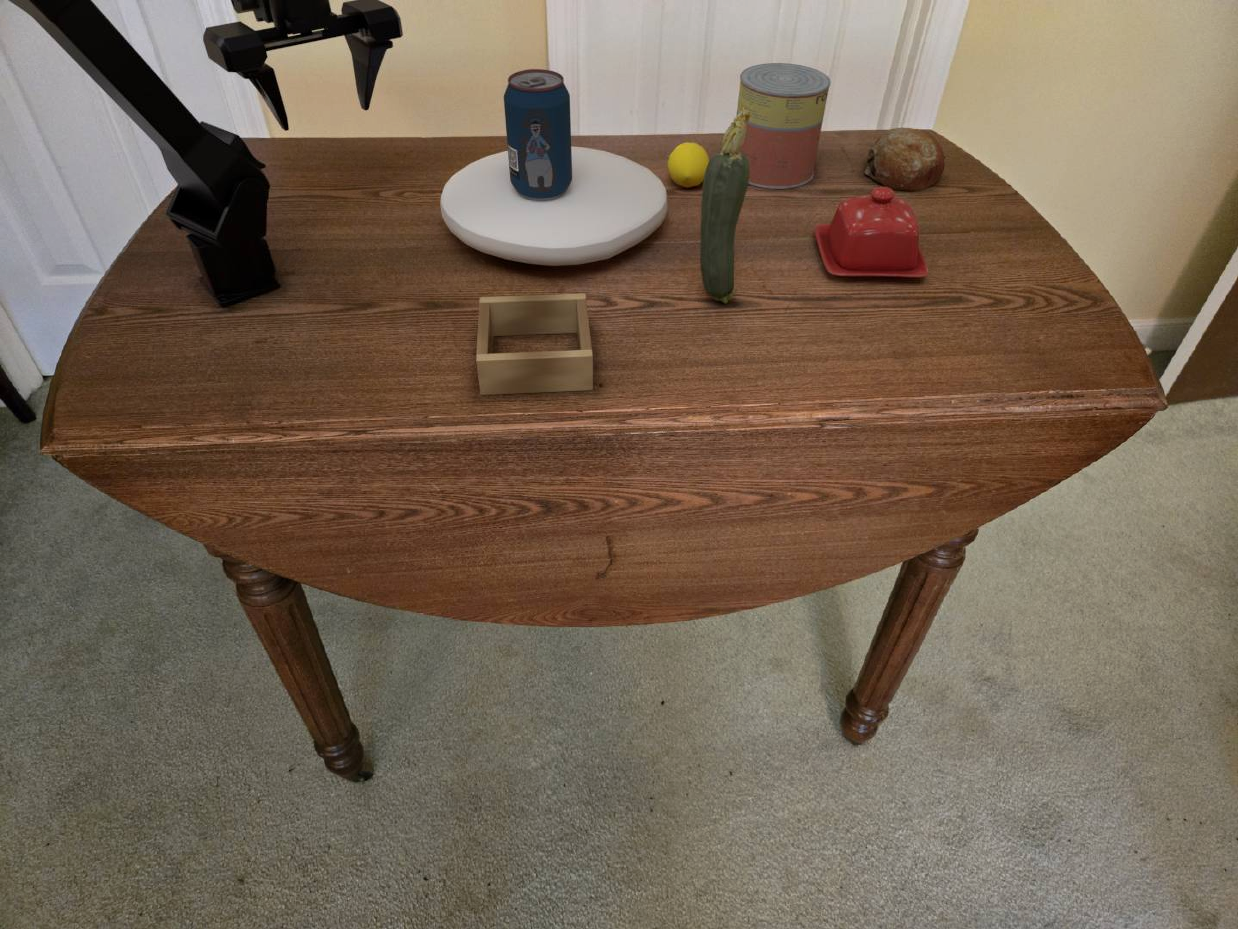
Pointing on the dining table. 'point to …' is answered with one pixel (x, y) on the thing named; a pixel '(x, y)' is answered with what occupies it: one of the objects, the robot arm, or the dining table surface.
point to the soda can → (538, 134)
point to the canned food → (782, 122)
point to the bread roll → (905, 159)
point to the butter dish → (872, 238)
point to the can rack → (534, 367)
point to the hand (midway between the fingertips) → (326, 118)
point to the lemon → (688, 164)
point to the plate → (555, 210)
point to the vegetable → (723, 210)
